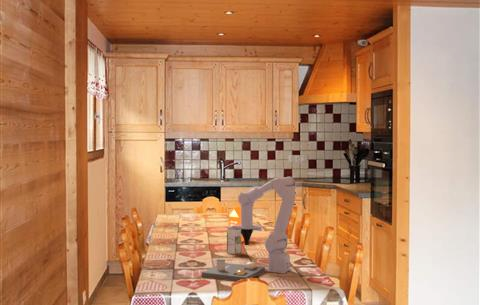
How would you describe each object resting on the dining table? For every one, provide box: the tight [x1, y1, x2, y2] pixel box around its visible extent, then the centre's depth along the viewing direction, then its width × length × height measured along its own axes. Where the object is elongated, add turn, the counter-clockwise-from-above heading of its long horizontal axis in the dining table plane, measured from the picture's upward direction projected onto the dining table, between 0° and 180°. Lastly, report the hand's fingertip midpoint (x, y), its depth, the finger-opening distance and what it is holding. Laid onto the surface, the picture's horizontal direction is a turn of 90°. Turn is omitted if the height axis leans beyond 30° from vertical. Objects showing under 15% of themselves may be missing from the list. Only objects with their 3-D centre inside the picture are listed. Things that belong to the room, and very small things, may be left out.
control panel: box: [201, 262, 266, 282], centre depth 253 cm, size 22×20×2 cm
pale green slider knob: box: [216, 258, 226, 270], centre depth 252 cm, size 3×2×5 cm, turn 63°
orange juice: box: [228, 205, 244, 242], centre depth 331 cm, size 8×9×20 cm
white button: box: [245, 261, 256, 270], centre depth 255 cm, size 4×4×3 cm
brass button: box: [236, 270, 245, 276], centre depth 246 cm, size 4×4×3 cm
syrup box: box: [226, 225, 243, 255], centre depth 296 cm, size 6×6×14 cm
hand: (246, 244), depth 272 cm, fingers closed
